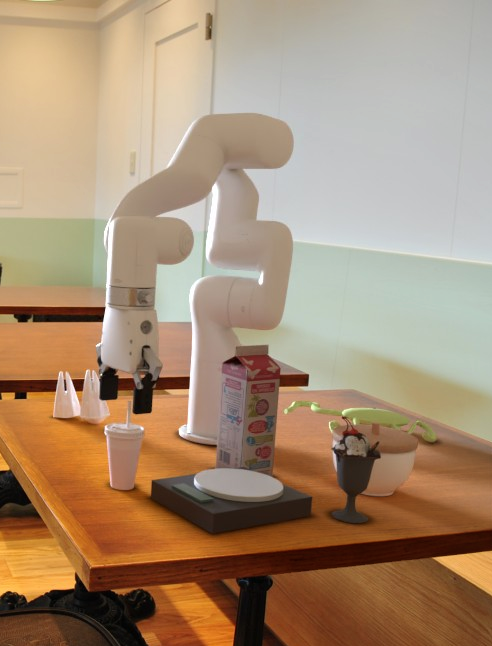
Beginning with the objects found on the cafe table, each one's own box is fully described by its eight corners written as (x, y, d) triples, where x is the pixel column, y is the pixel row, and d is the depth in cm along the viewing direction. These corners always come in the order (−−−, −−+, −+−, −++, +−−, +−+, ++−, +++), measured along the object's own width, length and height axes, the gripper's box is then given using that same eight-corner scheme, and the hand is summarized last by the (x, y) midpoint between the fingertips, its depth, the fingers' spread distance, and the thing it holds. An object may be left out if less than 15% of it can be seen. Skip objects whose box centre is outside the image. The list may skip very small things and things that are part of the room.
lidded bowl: (406, 508, 126) (414, 438, 124) (320, 491, 133) (326, 425, 131) (417, 485, 137) (424, 420, 135) (336, 471, 143) (342, 409, 141)
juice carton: (215, 469, 143) (223, 343, 139) (246, 465, 145) (255, 341, 142) (240, 481, 137) (249, 349, 133) (272, 476, 139) (282, 348, 136)
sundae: (317, 509, 125) (325, 412, 122) (360, 508, 126) (369, 412, 123) (337, 526, 118) (346, 424, 116) (382, 525, 119) (392, 424, 117)
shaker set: (111, 423, 171) (113, 370, 169) (100, 427, 168) (102, 374, 166) (62, 413, 178) (64, 363, 176) (51, 417, 175) (53, 365, 173)
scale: (242, 484, 135) (244, 461, 135) (310, 516, 122) (313, 491, 121) (150, 498, 128) (151, 475, 127) (212, 534, 115) (214, 508, 114)
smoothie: (141, 494, 130) (145, 407, 127) (100, 491, 131) (103, 404, 128) (143, 481, 136) (147, 397, 133) (104, 478, 137) (107, 395, 135)
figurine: (273, 424, 174) (275, 398, 173) (386, 419, 179) (389, 394, 178) (323, 449, 156) (326, 420, 155) (447, 444, 161) (450, 416, 160)
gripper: (184, 303, 122) (177, 417, 125) (120, 292, 137) (115, 393, 140) (141, 304, 119) (134, 421, 121) (81, 292, 134) (76, 396, 137)
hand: (124, 406), depth 131 cm, fingers open, 9 cm apart
